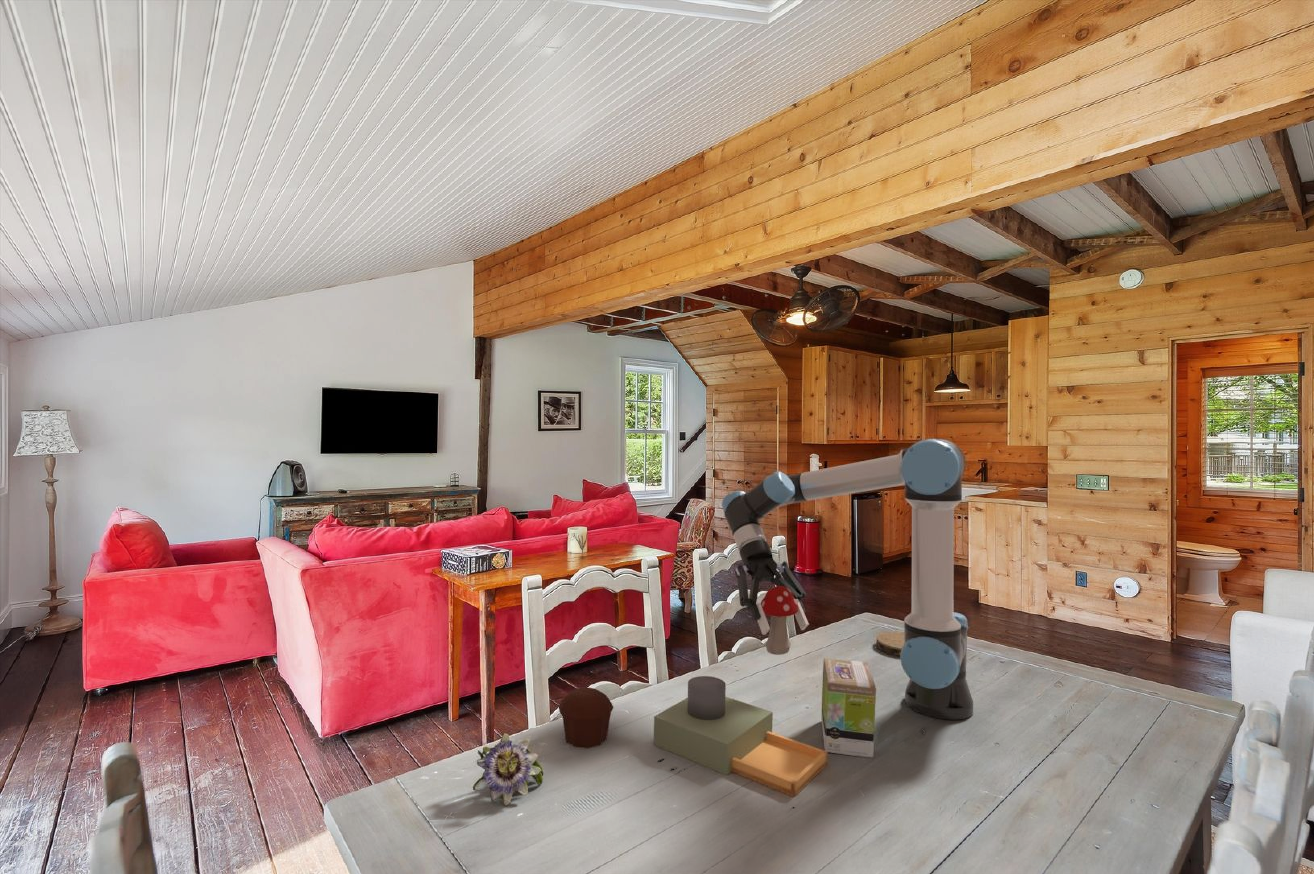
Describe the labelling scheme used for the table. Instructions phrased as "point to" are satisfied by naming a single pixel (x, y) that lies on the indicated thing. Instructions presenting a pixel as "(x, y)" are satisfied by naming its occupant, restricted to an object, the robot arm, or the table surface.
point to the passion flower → (508, 769)
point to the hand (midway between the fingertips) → (786, 629)
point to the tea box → (848, 707)
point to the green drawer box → (735, 738)
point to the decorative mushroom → (779, 618)
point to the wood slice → (890, 643)
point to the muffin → (586, 717)
